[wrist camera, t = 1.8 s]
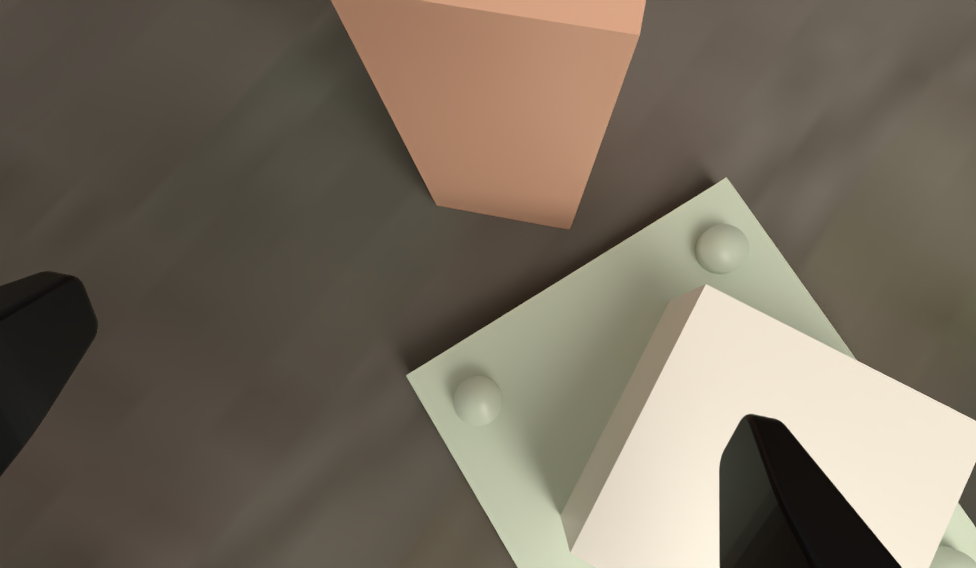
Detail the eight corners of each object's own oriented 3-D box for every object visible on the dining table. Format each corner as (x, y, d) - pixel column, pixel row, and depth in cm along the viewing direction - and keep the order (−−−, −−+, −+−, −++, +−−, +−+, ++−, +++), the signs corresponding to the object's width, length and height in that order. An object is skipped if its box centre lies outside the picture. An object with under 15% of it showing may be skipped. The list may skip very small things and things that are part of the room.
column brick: (570, 229, 22) (639, 35, 9) (436, 205, 22) (323, -15, 10) (594, 101, 23) (691, -251, 10) (463, 79, 23) (392, -285, 10)
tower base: (1002, 588, 20) (1165, 663, 15) (664, 808, 19) (714, 961, 14) (717, 186, 22) (774, 132, 17) (411, 375, 22) (378, 377, 17)
